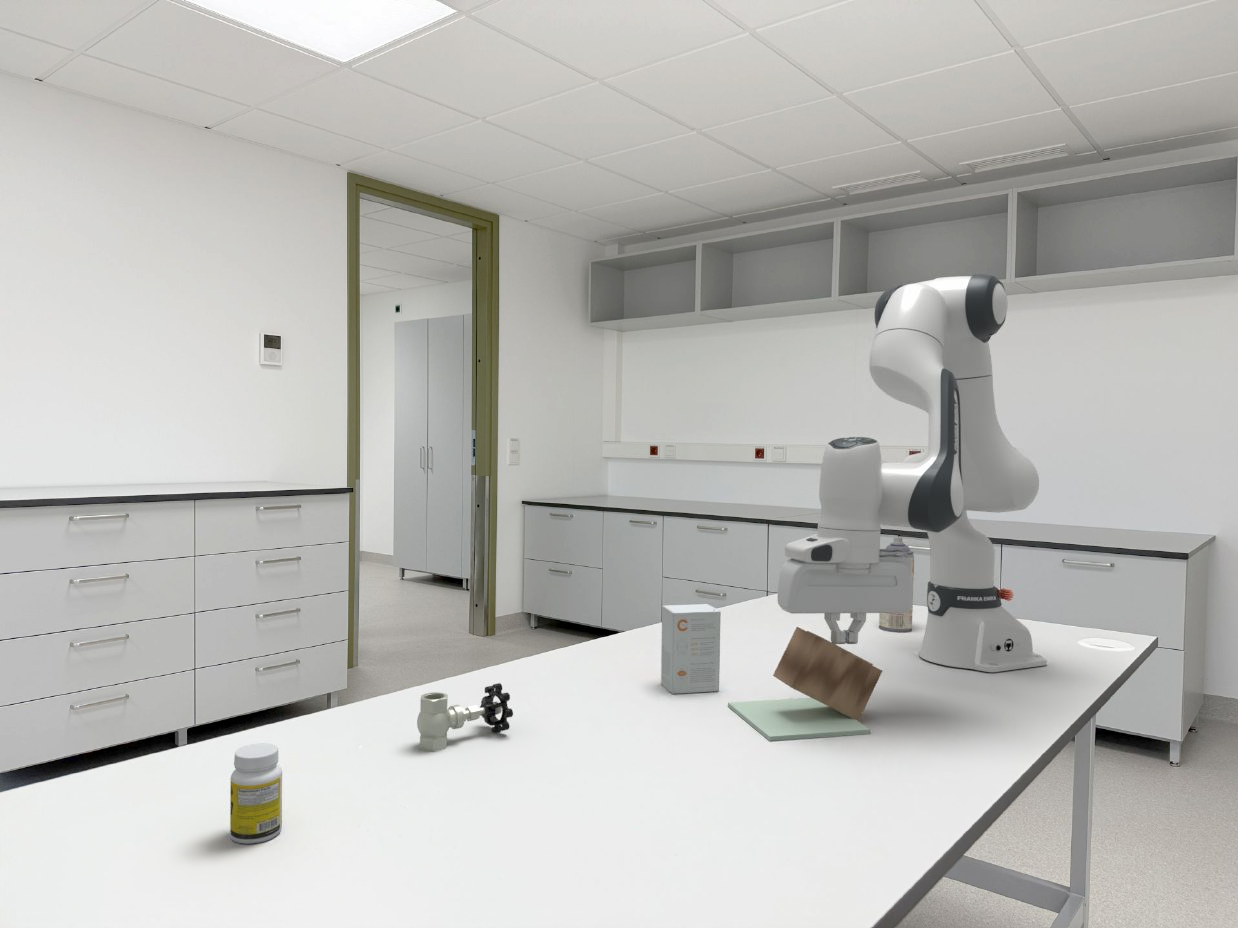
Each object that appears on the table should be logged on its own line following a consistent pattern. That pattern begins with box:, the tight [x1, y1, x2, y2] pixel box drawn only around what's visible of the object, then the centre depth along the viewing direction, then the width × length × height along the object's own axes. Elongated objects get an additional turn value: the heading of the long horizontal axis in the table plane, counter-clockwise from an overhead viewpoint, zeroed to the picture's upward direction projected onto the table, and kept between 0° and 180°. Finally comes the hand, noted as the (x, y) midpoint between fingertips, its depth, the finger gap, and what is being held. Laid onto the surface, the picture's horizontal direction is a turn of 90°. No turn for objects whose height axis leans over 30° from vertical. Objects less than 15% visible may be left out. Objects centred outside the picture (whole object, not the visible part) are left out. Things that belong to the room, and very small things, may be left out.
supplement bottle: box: [229, 742, 283, 845], centre depth 84 cm, size 5×5×8 cm
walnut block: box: [772, 626, 883, 722], centre depth 123 cm, size 8×6×12 cm
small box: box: [660, 603, 721, 695], centre depth 137 cm, size 8×6×13 cm
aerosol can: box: [878, 536, 915, 633], centre depth 185 cm, size 7×7×20 cm
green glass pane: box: [727, 697, 871, 742], centre depth 122 cm, size 15×15×1 cm
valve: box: [416, 682, 514, 753], centre depth 111 cm, size 7×7×12 cm
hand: (844, 643), depth 123 cm, fingers closed
